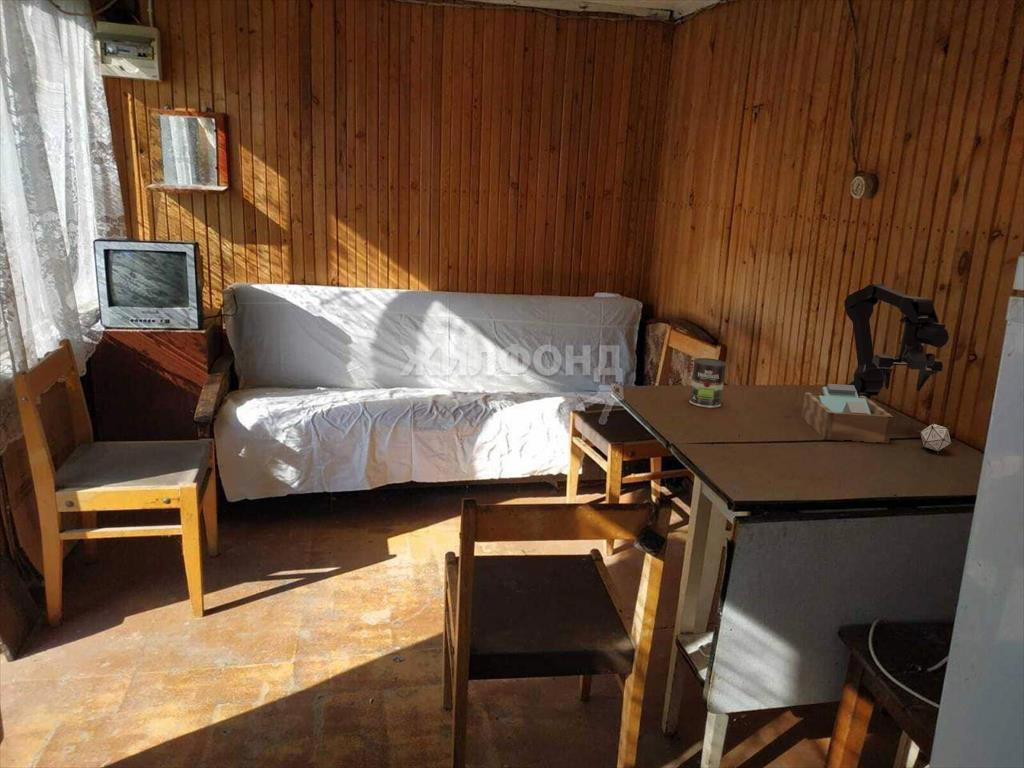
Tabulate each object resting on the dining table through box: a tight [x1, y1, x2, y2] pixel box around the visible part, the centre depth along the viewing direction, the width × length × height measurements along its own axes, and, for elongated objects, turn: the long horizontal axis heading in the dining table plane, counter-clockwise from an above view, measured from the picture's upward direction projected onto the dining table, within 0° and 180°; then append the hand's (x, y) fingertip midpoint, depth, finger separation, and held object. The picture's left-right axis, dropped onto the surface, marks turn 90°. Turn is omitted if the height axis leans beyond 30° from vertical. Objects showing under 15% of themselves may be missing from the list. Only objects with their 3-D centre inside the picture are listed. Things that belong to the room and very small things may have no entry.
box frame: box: [801, 392, 895, 444], centre depth 236 cm, size 22×18×8 cm
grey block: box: [843, 402, 868, 414], centre depth 230 cm, size 5×5×6 cm
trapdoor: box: [818, 383, 871, 414], centre depth 236 cm, size 18×14×3 cm
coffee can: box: [688, 357, 728, 409], centre depth 255 cm, size 10×10×14 cm
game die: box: [917, 420, 955, 455], centre depth 222 cm, size 9×8×10 cm
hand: (902, 390), depth 237 cm, fingers open, 9 cm apart
